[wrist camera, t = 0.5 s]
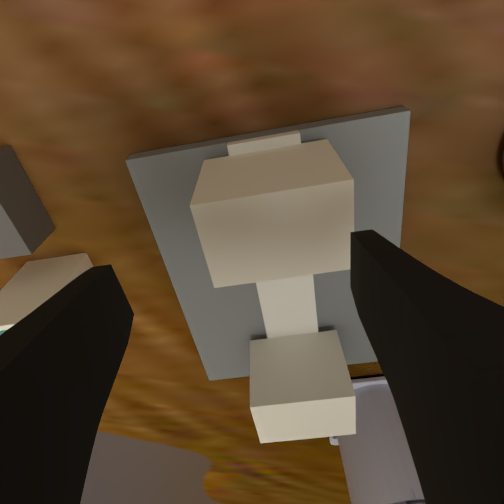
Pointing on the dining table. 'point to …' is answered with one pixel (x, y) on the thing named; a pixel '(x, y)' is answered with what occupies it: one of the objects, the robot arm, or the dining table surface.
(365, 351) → the board
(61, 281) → the block
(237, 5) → the dining table surface
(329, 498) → the dining table surface
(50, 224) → the block
